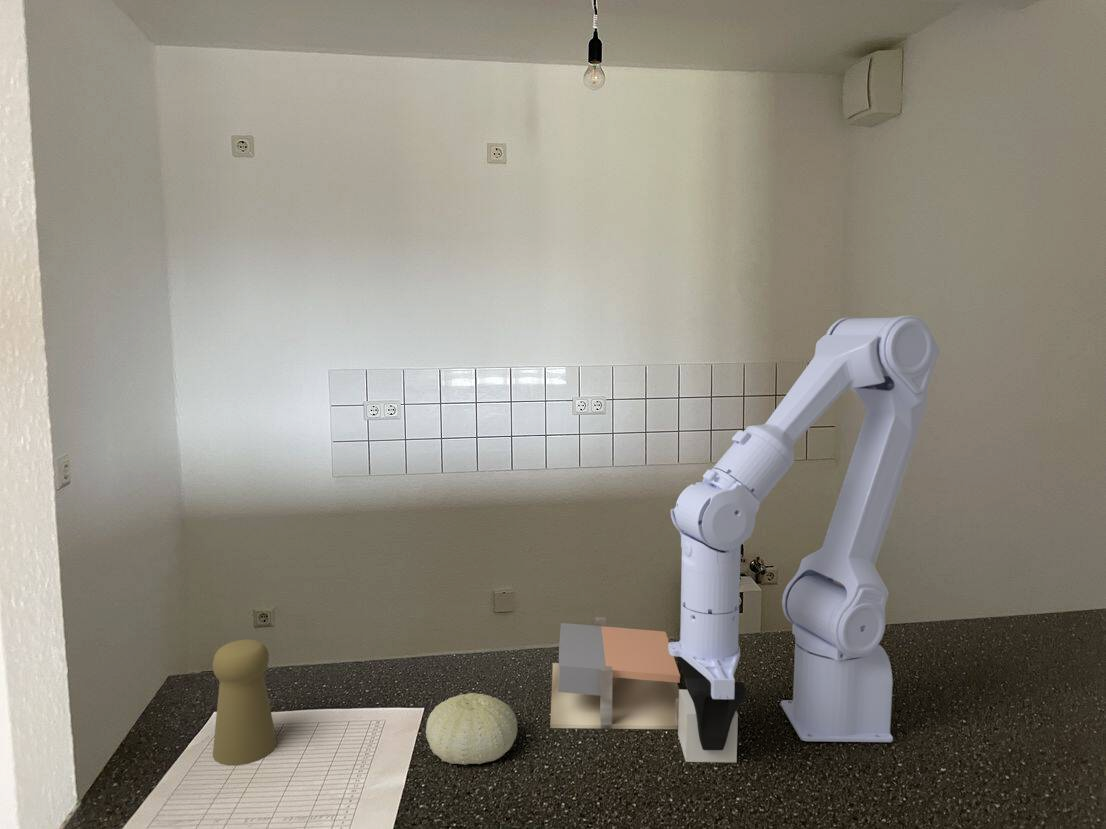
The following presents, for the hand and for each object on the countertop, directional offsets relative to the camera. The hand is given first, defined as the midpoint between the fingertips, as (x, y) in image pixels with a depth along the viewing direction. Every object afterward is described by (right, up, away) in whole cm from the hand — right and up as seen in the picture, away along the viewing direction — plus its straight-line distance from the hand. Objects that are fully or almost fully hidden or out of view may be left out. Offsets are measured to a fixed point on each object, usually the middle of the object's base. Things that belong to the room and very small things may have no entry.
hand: (706, 732), depth 76 cm
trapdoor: (-9, +2, +11) cm, 14 cm away
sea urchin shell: (-24, -2, +1) cm, 24 cm away
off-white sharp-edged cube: (0, -2, 0) cm, 2 cm away
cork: (-47, -2, 0) cm, 47 cm away
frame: (-8, 0, +11) cm, 14 cm away
